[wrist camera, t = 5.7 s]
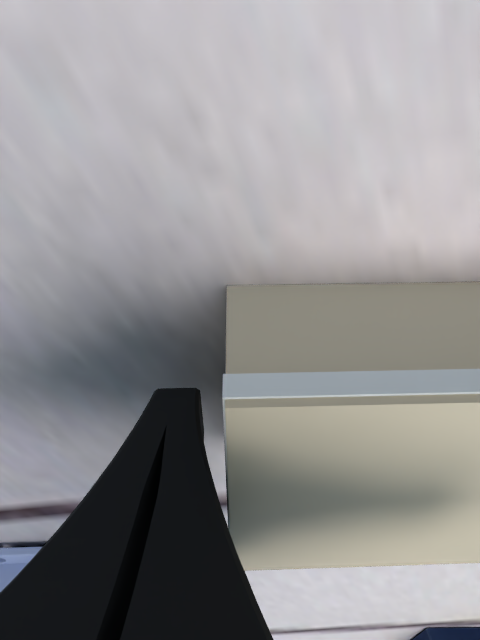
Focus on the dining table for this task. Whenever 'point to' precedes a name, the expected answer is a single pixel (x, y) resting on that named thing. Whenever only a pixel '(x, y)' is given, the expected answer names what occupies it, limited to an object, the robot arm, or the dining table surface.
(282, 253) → the dining table surface
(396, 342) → the beige rectangular block
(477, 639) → the protein box
